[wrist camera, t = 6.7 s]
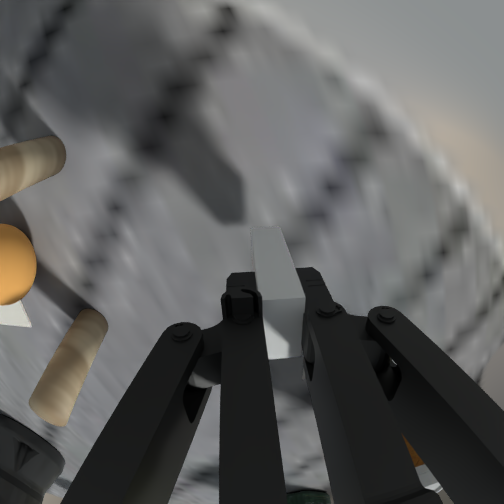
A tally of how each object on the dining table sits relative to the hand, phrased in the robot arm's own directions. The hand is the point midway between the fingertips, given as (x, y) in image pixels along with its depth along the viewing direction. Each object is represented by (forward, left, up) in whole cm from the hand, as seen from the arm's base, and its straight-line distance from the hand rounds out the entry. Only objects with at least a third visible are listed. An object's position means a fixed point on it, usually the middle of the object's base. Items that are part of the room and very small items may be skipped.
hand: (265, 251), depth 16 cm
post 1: (-13, +6, -2) cm, 15 cm away
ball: (-18, 0, 0) cm, 18 cm away
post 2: (-13, -6, -2) cm, 15 cm away
